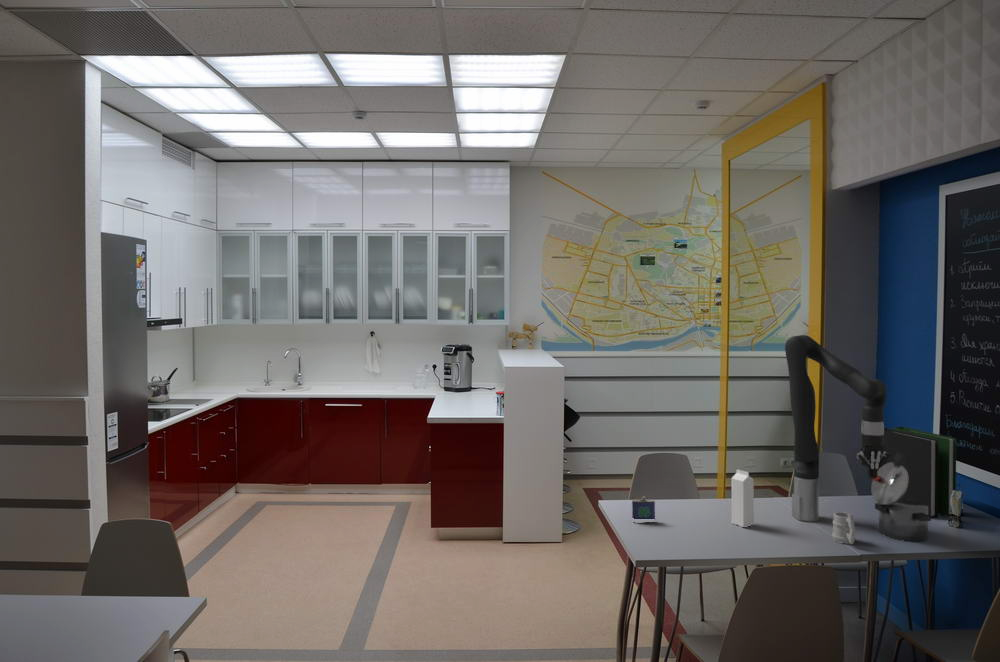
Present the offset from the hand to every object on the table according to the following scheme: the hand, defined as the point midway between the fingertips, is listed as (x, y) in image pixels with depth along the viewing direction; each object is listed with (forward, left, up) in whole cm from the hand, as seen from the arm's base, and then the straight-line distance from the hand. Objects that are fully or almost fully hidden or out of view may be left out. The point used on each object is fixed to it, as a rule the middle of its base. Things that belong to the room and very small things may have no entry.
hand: (872, 478), depth 249 cm
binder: (+38, +30, -22) cm, 53 cm away
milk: (-43, +17, -22) cm, 51 cm away
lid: (+8, 0, -1) cm, 8 cm away
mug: (-14, -6, -22) cm, 27 cm away
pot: (+12, 0, -22) cm, 25 cm away
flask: (-81, +25, -22) cm, 88 cm away
